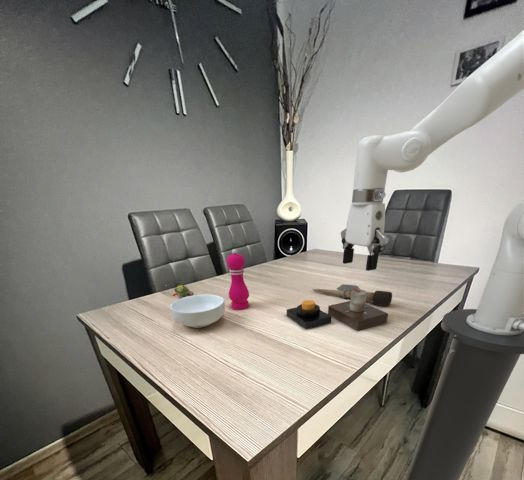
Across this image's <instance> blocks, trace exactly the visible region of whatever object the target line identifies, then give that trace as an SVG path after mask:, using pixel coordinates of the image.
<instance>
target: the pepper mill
mask: <svg viewBox="0 0 524 480" xmlns="http://www.w3.org/2000/svg"><path fill="white" fill-rule="evenodd" d="M245 263H246V261H245V257H244V256H243V255H241V254H240V253H238V250H237V248H233V249H232V250H231V254H229V255H228V257H227V258H226V266H227V267H228V268H229V269H228V271H229V275H230V277H231V278H230V279H231V282H230V286H229V290H228V299H229V300H230V301H231V302H230V305H231V309H233V310H245V309H247V308H249V306H250V305H249V304H250V303H249V300H248V299H249V297H250V291H249V289H248V287H247V284H246V283H245V280H244V273H245V271H244V270H245V269H244V268H245V267H244V266H245V265H246V264H245Z"/></svg>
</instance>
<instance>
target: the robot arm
mask: <svg viewBox="0 0 524 480" xmlns="http://www.w3.org/2000/svg"><path fill="white" fill-rule="evenodd" d="M523 90H524V29H523V30H522V31H520V32H519V33H518V34H517V35H515V36H514V38H512V39H511V40H510V41H509V42H508V43H506V44H505V45H504V46H502V48H500V49H499V50H497V52H496V53H494V54H493V55H492V56H491V57H490V58H488V59H487V60H486V61H485V62H484V63H483V64H481V65H480V66H479V67H477V68H476V69H475V70H474V71H473V72H472V73H471V74H469V75H468V76H467V77H466V78H465V79H464V80H463V81H462V82H461V83H460V84H458V86H457V87H456V88H455V89H454V90H453V91H452V92H451V93H450V94H449V95H448V96H447V97H446V98H445V99H444V100H443V101H442V102H440V104H439V105H438V106H437V107H435V108H434V109H433V110H432V111H431V112H430V113H428V114H427V115H426V116H425V117H424V118H423V119H422V120H420V121H419V122H418V123H417V124H415V125H414V126H413V127H412V128H411V129H410V130H406V131H402V132H398V133H393V134H375V135H369V136H365V137H363V138H361V139H360V140H359V142H358V145H357V148H356V149H357V150H356V159H355V167H354V168H355V169H354V177H353V185H352V186H353V188H352V195H351V204H350V207H349V211H348V215H347V221H346V226H345V228H344V229H343V230H341V231H340V238H341V243H342V249H343V254H342V264H344V265H346V264H352V263H353V262H354V261H353V260H354V253H355V248H353V247H354V246H359V247H366V248H367V251H368V253H369V254H368V255H367V257H366V264H365V271H368V272H369V271H375V270H377V267H378V261H379V255H381V254H382V252H383V251H384V250H385V248H386V246H387V244H388V243H389V241H390V238H389V237H388V235H386V233H385V226H386V204H385V203H384V199H385V197H386V192H385V190H386V184H387V177H388V172H389V171H394V172H396V173H407V172H410V171H414V170H415V169H418V167H420V166H421V165H422V164H423V163H424V162H425V161H426V160H427V158H428V157H429V156H430V155H431V154H432V153H433V152H435V151H436V150H437V149H439V148H440V147H442V146H443V145H445V144H446V143H447V142H449V141H450V140H451V139H453V138H454V137H456V136H457V135H459V134H460V133H462V132H464V131H465V130H467V129H470V128H472V127H473V126H475V125H476V124H479V123H480V122H481V121H482V120H484V119H485V118H487V117H488V116H490V115H491V114H492V113H494V112H495V111H496V110H498V109H499V108H501V106H503V105H505V104H506V103H507V102H508V101H510V100H511V99H512V98H514V97H515V96H516V95H518V94H519V93H520V92H521V91H523ZM476 309H477V311H476V313H475V314H472V315H469V316H468V317H467V319H466V322H467V324H468V325H469V326H471V327H473V328H475V329H477V330H480V331H483V332H486V333H491V334H496V335H518V334H521V333H522V332H523V331H524V200H522V201H520V202H519V203H518V204H516V205H515V206H514V207H513V208H512V209H511V210H510V211H509V213H508V215H507V217H506V219H505V221H504V224H503V227H502V232H501V238H500V242H499V247H498V250H497V254H496V256H495V259H494V262H493V264H492V267H491V270H490V273H489V275H488V278H487V281H486V283H485V286H484V289H483V291H482V295H481V298H480V300H479V303H478V305H477V308H476Z"/></svg>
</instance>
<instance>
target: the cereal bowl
mask: <svg viewBox="0 0 524 480" xmlns="http://www.w3.org/2000/svg"><path fill="white" fill-rule="evenodd" d="M169 308H170V313H171V316H172V317H173V319H174V321H176V322H177V323H179V324H180V325H183V326H185V327H190V328H194V329H201V328H206V327H208V326H211V325H212V324H214V323H216V322H217V321H219V320H220V319H221V318H222V317H223V315H224V313H225V309H226V303H225V299H224V298H223V297H222V296H220V295H216V294H212V293H211V294H207V293H206V294H205V293H203V294H194V295H193V296H188V297H184V298H181V299H179V298H178V299H176V300H174V301H172V302H171V303H170V305H169Z"/></svg>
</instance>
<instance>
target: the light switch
mask: <svg viewBox="0 0 524 480" xmlns="http://www.w3.org/2000/svg"><path fill="white" fill-rule="evenodd" d="M301 304H302V309H303V310H314V309H315V304H316V301H315V300H312V299H305V300H302V302H301Z"/></svg>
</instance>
